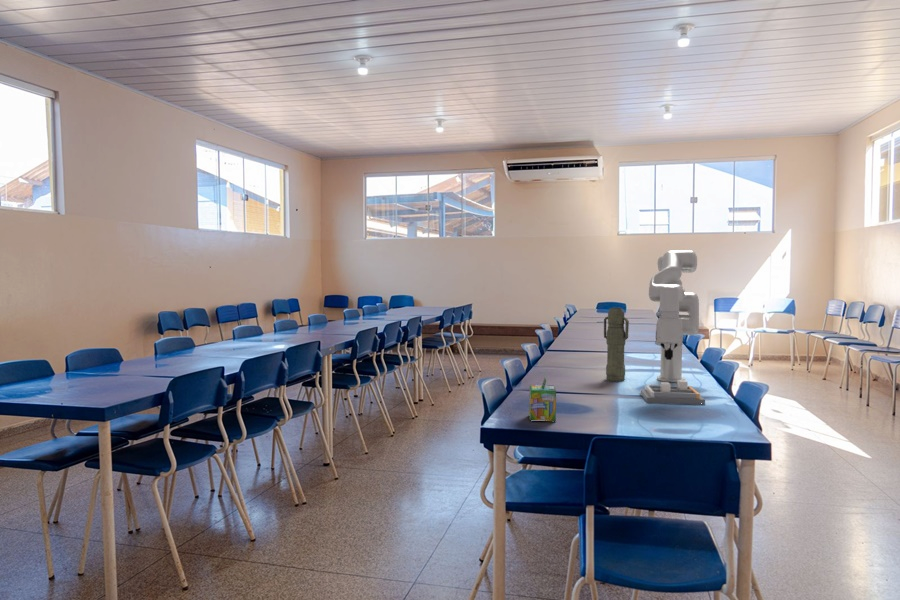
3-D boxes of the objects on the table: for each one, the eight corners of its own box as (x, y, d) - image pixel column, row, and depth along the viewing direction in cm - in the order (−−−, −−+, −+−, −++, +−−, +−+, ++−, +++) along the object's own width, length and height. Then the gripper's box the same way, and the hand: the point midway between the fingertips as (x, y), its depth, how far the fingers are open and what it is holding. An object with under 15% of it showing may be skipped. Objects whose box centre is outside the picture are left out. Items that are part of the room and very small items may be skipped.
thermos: (625, 382, 264) (626, 308, 262) (600, 380, 270) (601, 307, 268) (630, 379, 272) (631, 307, 270) (606, 377, 278) (606, 306, 276)
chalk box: (528, 415, 207) (528, 375, 206) (554, 415, 206) (554, 376, 205) (529, 422, 197) (529, 380, 197) (556, 422, 196) (556, 381, 196)
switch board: (646, 402, 225) (646, 392, 224) (640, 393, 240) (640, 384, 240) (705, 404, 221) (705, 394, 221) (694, 395, 236) (695, 386, 236)
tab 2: (679, 393, 231) (679, 381, 230) (677, 390, 235) (677, 379, 235) (687, 393, 230) (687, 382, 230) (684, 391, 234) (685, 379, 234)
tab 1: (662, 395, 226) (662, 384, 226) (660, 393, 230) (660, 382, 230) (670, 396, 226) (670, 384, 225) (668, 393, 230) (668, 382, 230)
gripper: (651, 316, 229) (651, 360, 231) (690, 316, 227) (689, 361, 228) (648, 314, 237) (648, 357, 238) (686, 314, 234) (685, 357, 236)
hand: (668, 359), depth 233 cm, fingers closed
